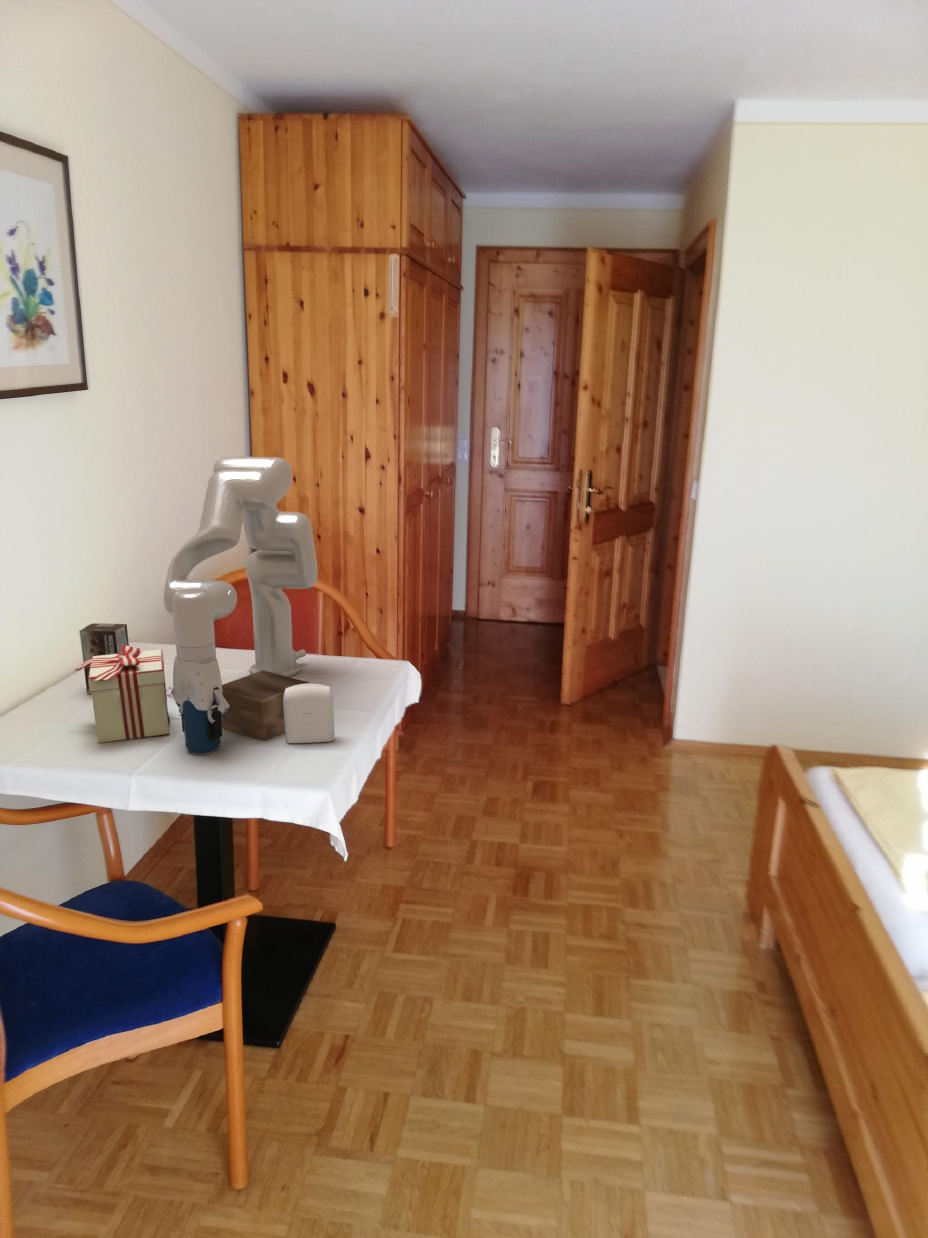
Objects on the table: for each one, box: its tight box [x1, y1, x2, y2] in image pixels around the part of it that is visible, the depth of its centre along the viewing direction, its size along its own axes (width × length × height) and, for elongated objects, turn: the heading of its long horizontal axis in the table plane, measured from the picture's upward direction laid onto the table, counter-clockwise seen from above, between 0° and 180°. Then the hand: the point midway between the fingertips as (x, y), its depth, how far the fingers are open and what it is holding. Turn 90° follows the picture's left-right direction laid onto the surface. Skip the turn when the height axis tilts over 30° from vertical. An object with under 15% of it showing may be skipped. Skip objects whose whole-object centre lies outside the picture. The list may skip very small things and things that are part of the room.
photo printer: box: [283, 683, 336, 744], centre depth 193 cm, size 10×4×12 cm, turn 96°
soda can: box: [182, 697, 222, 756], centre depth 189 cm, size 7×7×12 cm
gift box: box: [73, 645, 171, 744], centre depth 198 cm, size 17×18×17 cm
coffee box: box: [79, 623, 130, 696], centre depth 222 cm, size 9×6×16 cm
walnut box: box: [221, 670, 311, 742], centre depth 203 cm, size 14×14×9 cm
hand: (202, 734), depth 189 cm, fingers closed on soda can, 7 cm apart
